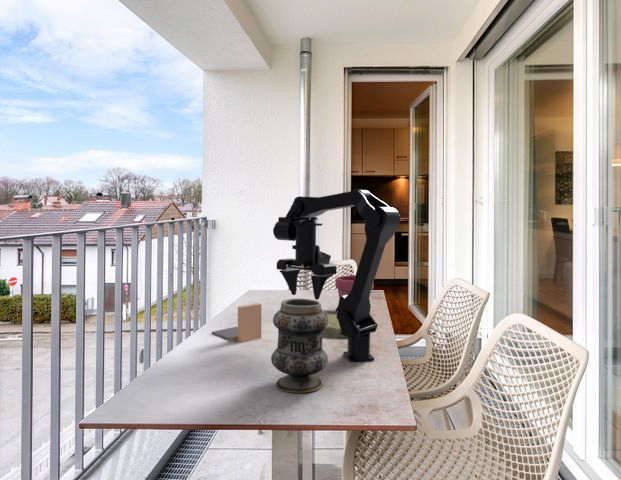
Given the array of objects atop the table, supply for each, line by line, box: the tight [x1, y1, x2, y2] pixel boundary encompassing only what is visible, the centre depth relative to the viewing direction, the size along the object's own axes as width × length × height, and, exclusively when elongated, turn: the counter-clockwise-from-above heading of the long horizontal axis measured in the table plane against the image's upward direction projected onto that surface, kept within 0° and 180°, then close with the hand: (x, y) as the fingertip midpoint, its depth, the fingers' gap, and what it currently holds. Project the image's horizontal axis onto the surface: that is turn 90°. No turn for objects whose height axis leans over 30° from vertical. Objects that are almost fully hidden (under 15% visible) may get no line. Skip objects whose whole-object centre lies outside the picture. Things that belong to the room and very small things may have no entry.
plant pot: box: [334, 274, 375, 300], centre depth 164 cm, size 14×14×13 cm
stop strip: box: [229, 335, 238, 343], centre depth 129 cm, size 1×10×1 cm, turn 135°
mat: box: [211, 326, 238, 341], centre depth 133 cm, size 10×9×1 cm
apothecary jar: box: [270, 297, 329, 394], centre depth 94 cm, size 12×12×18 cm
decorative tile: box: [323, 313, 359, 339], centre depth 140 cm, size 19×20×4 cm
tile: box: [237, 302, 262, 344], centre depth 127 cm, size 2×7×10 cm, turn 136°
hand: (305, 297), depth 124 cm, fingers open, 9 cm apart
